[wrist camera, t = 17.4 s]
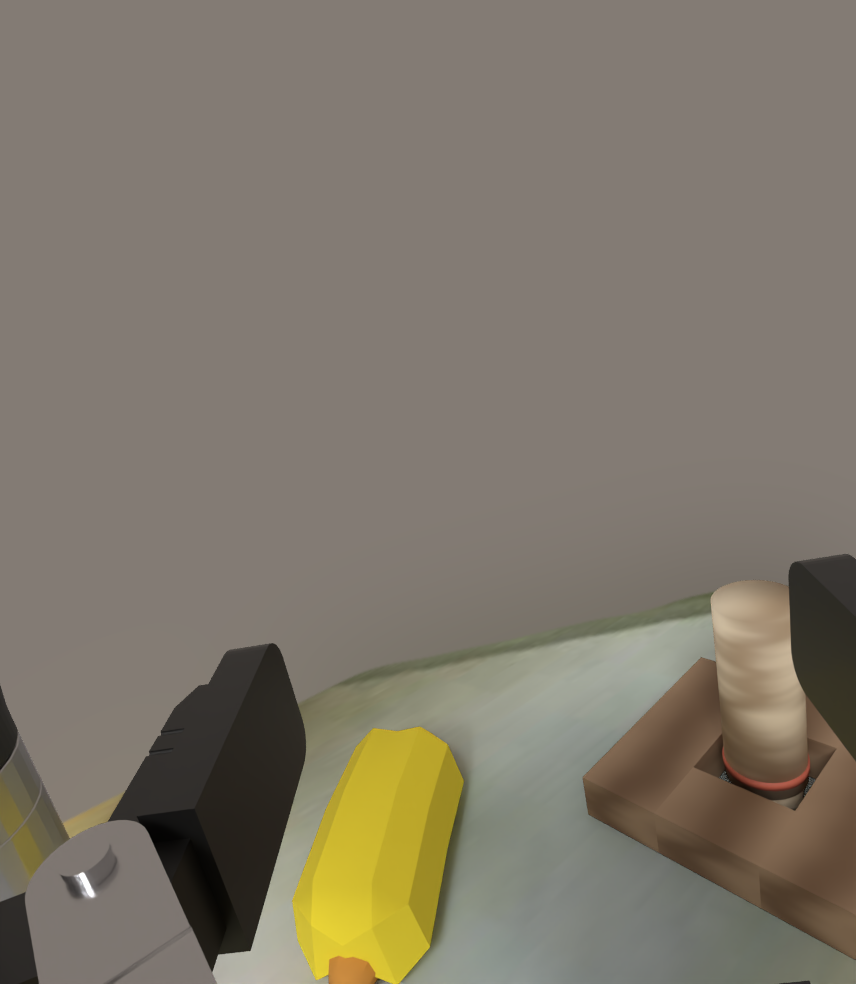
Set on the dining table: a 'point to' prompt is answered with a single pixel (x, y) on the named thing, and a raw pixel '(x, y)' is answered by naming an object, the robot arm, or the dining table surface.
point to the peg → (760, 692)
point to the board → (736, 811)
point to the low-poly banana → (379, 859)
